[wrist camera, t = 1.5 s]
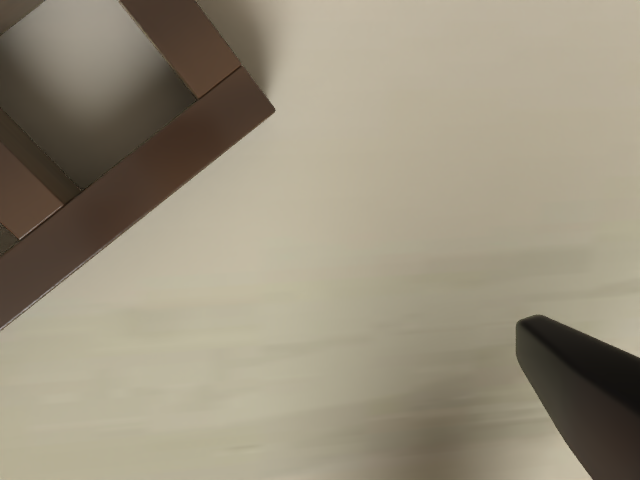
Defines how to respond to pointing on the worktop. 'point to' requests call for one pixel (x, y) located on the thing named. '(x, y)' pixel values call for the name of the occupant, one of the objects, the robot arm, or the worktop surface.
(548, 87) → the worktop surface
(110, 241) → the rack
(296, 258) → the worktop surface
